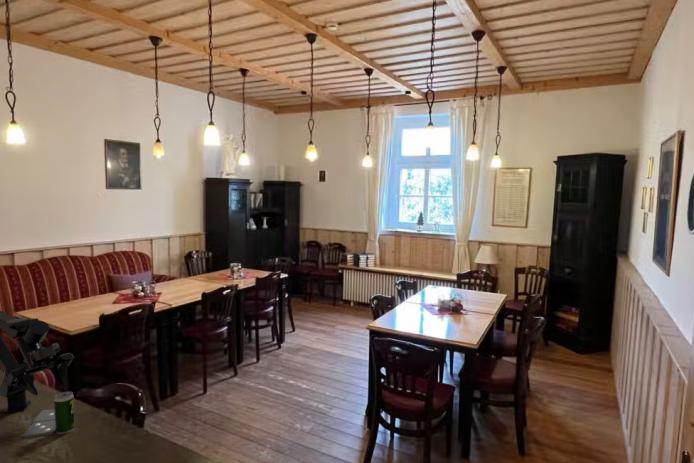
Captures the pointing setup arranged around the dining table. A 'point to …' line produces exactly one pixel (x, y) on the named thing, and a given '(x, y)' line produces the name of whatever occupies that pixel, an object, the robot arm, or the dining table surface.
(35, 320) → the robot arm
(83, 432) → the dining table surface
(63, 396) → the beer can
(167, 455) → the dining table surface
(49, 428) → the three-dot tile
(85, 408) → the dining table surface
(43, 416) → the one-dot tile
